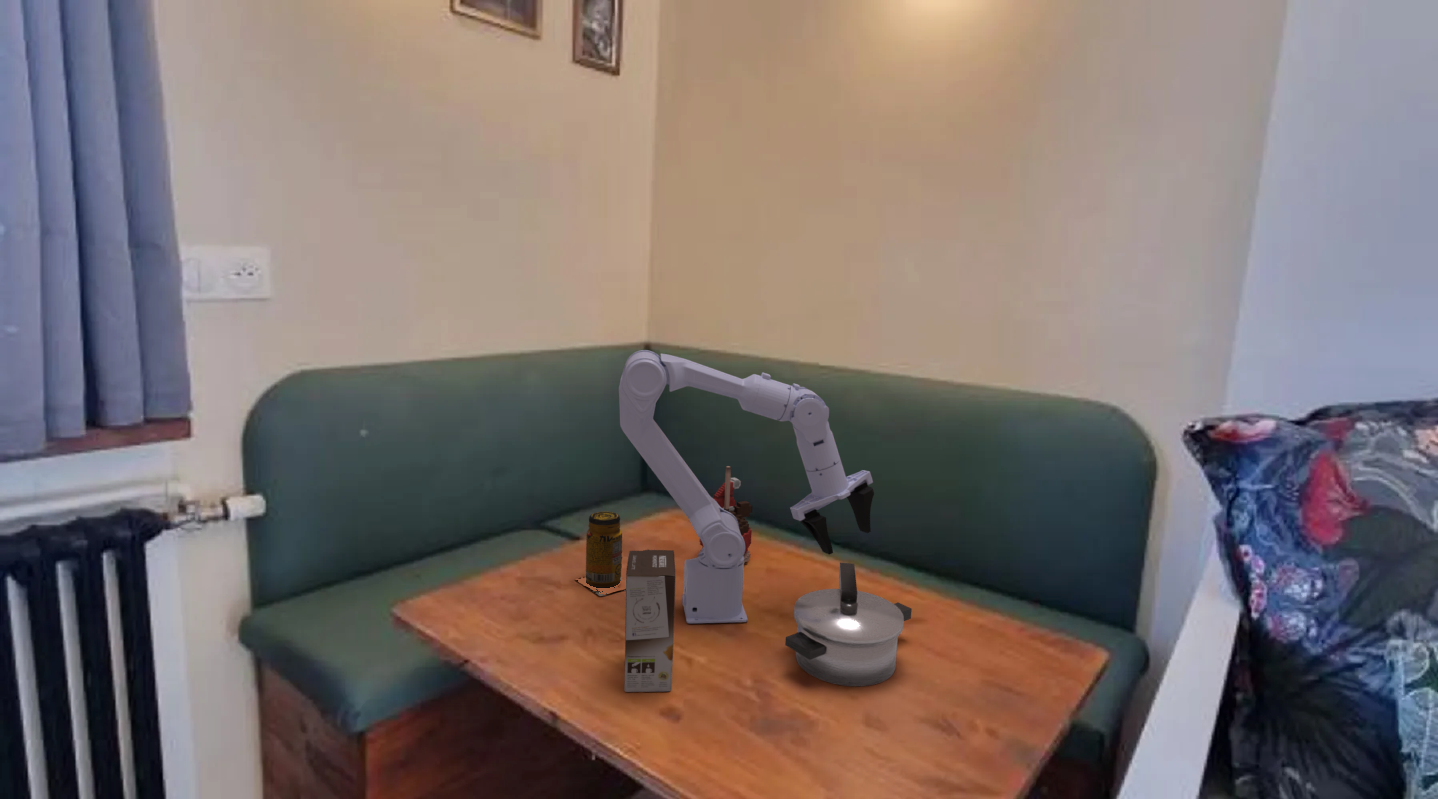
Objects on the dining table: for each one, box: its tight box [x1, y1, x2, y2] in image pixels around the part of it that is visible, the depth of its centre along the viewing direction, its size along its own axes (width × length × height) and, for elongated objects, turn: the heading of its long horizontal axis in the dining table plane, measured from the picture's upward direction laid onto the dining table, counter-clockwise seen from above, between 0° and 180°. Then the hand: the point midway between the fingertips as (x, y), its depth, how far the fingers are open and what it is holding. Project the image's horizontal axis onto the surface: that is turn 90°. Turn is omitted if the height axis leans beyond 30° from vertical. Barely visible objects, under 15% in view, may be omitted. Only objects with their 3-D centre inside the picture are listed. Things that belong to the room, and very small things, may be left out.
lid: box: [793, 562, 905, 646], centre depth 113 cm, size 20×15×4 cm
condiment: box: [585, 510, 623, 597], centre depth 134 cm, size 7×8×12 cm
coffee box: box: [623, 549, 676, 693], centre depth 105 cm, size 9×6×16 cm
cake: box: [699, 465, 753, 564], centre depth 146 cm, size 11×9×18 cm
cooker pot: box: [784, 602, 913, 687], centre depth 113 cm, size 22×14×6 cm, turn 128°
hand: (846, 541), depth 125 cm, fingers open, 7 cm apart
